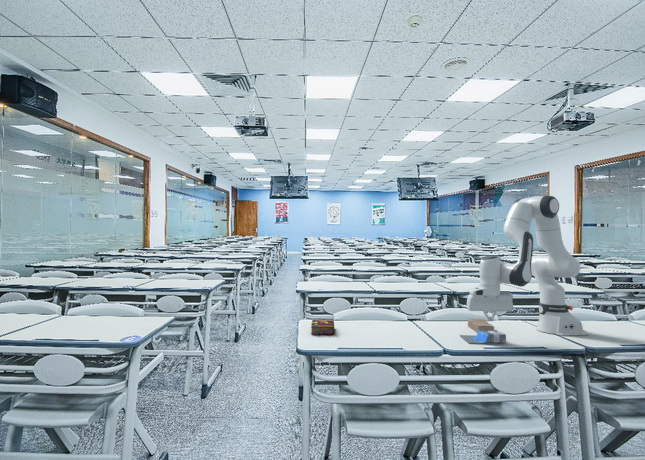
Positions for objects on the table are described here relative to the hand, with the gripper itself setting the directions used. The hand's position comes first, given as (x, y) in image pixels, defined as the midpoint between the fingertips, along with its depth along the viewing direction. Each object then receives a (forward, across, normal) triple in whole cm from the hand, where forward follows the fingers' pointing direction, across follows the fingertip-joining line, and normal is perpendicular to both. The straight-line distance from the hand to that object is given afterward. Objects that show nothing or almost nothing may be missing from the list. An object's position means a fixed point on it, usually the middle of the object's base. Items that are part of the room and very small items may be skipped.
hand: (489, 320), depth 172 cm
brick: (+10, -4, -21) cm, 23 cm away
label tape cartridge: (+7, -5, 0) cm, 8 cm away
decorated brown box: (+10, +78, -10) cm, 79 cm away
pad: (+9, +4, 0) cm, 10 cm away
